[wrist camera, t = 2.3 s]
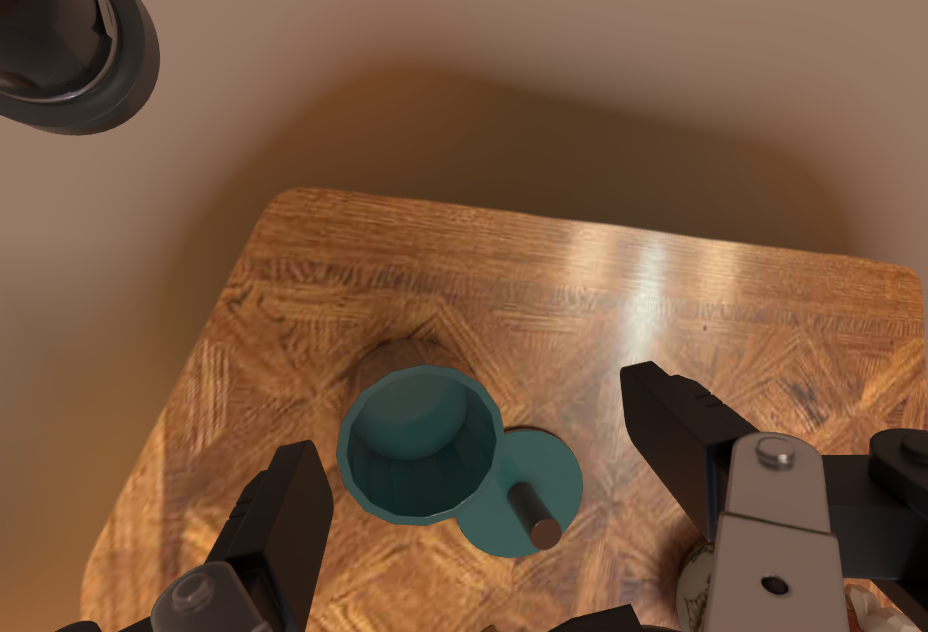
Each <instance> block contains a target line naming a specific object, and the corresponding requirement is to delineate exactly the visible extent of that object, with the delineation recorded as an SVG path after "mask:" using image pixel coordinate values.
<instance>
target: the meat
mask: <svg viewBox="0 0 928 632" xmlns="http://www.w3.org/2000/svg"><path fill="white" fill-rule="evenodd" d="M844 592H845V599H846V601H847V602H848V604H849V606H850V608H851V610H849V609H847V616H848V623H849V631H850V632H917V626H916V625H915V624H914V623H913V622H912V621H911V620H910V619H909V618H908V617H907V616H906V615H905V614H903V613H901V612H900V611H898V610H896V609H895V608H893V607H886V608H882V609H881V605H880V603H879V601H878V600H877V598H876V597H875V595H874V594H872V593H871V592H870V591H869V590H868V589H866V588H864V587H862V586H860V585H855V584H849V583H848V584H847V585H846V586H845V588H844Z"/></svg>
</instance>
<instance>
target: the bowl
mask: <svg viewBox="0 0 928 632" xmlns="http://www.w3.org/2000/svg"><path fill="white" fill-rule="evenodd" d="M715 542H716V540H715V541H710V542H708V541H707V540H706V539H704V540H701V541H700V542H698V543H696V544H694V545H693V546H692V547H691V548H690V549H689V550H688V551H687V552H686V554H685V555H684V556H683V558H682V560H681V563H680V566H679V573H678V577H679V579H678V584H677V592H676V608H677V615H678V619H679V624H680V628H681V631H682V632H703V629H704V621H705V614H706V607H707V600H708V592H709V585H710V578H711V571H712V563H713V556H714V549H715Z"/></svg>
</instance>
